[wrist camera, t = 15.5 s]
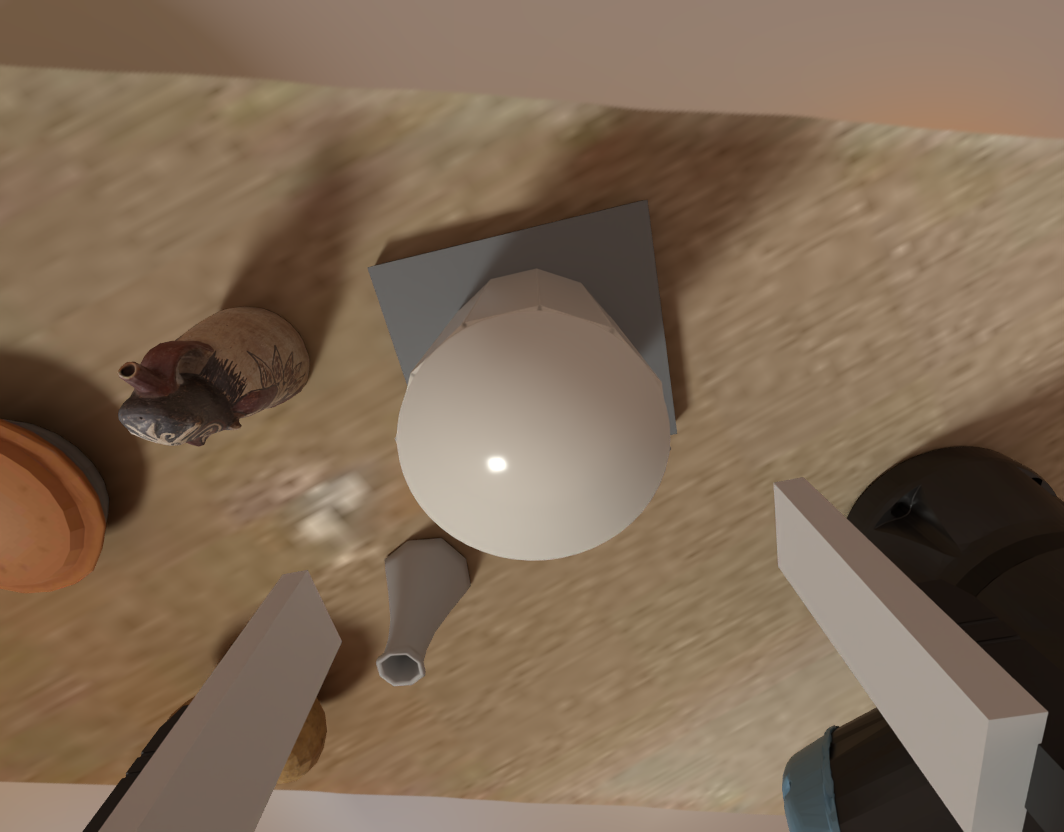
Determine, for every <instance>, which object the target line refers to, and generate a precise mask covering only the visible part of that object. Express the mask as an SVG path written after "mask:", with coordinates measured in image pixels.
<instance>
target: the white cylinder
mask: <svg viewBox="0 0 1064 832" xmlns="http://www.w3.org/2000/svg"><path fill="white" fill-rule="evenodd" d="M395 441H396V442H397V447H398V454H399V461H400V464H401V468H402V471H403V475H404V477H405V480H406V482H407V484H408V486H409V488H410V491H411V492H412V494H413V495H414V497H415V499H416V500H417V502H418V504H419V505H420V506H421V507H422V509H423V510H424V511H425V512H426V513H427V515H428V516H429V517H430V518H431V519H432V520H433V521H434V522H435V523H436V524H437V525H438V526H439V527H441V528H442V529H443V530H445V531H446V532H447V533H449V534H450V535H451V536H453V537H454V538H456V539H458V540H459V541H461V542H463V543H465V544H466V545H468V546H471V547H473V548H475V549H478V550H480V551H482V552H486V553H489V554H492V555H495V556H500V557H505V558H510V559H518V560H549V559H557V558H563V557H567V556H571V555H575V554H578V553H581V552H584V551H587V550H589V549H592V548H594V547H596V546H598V545H600V544H602V543H604V542H606V541H608V540H609V539H611V538H612V537H614V536H616V535H617V534H619V533H620V532H621V531H622V530H624V529H625V528H626V527H627V526H628V525H630V524H631V523H632V522H633V521H634V520H635V519H636V518H637V517H638V516H639V515H640V514H641V513H642V511H643V510H644V509H645V507H646V506H647V505H648V503H649V502H650V501H651V499H652V498H653V496H654V494H655V492H656V490H657V489H658V487H659V485H660V482H661V480H662V477H663V475H664V472H665V469H666V465H667V461H668V456H669V451H670V450H671V447H670V422H669V417H668V412H667V407H666V404H665V401H664V396H663V388H662V382H661V381H660V379H659V378H658V377H657V375H656V374H655V373H654V372H653V370H652V369H651V368H650V366H649V365H648V364H647V363H646V361H645V360H644V359H643V358H642V356H641V355H640V354H639V352H638V351H637V350H636V349H635V347H634V346H633V345H632V343H631V342H630V341H629V340H628V338H627V337H626V336H625V335H624V333H623V332H622V331H621V329H620V328H619V327H618V326H617V324H616V323H615V322H614V320H613V319H612V318H611V317H610V316H609V315H608V314H607V313H606V311H605V310H604V309H603V308H602V307H601V306H600V304H599V303H598V302H597V301H596V300H595V299H594V298H593V296H592V295H591V294H590V293H589V292H588V291H587V289H586V288H585V287H584V286H583V284H582V283H581V282H577V281H574V280H571V279H568V278H565V277H562V276H558V275H555V274H552V273H549V272H546V271H543V270H540V269H537V268H536V269H532V270H527V271H523V272H519V273H515V274H511V275H506V276H502V277H498V278H494V279H490V280H489V282H488V283H487V284H485V285H484V286H483V287H482V288H481V289H480V290H479V291H478V292H477V293H476V294H475V295H474V296H473V297H472V298H471V299H470V300H469V301H468V302H467V303H466V304H465V305H464V306H463V307H462V308H461V309H460V310H459V311H458V312H457V313H456V314H455V316H454V317H453V318H452V320H451V321H450V322H449V324H448V325H447V326H446V327H445V329H444V330H443V331H442V333H441V334H440V335H439V337H438V338H437V339H436V340H435V342H434V343H433V344H432V346H431V347H430V348H429V349H428V351H427V352H426V353H425V355H424V356H423V357H422V359H421V360H420V361H419V362H418V364H417V365H416V366H415V368H414V369H413V370H412V372H411V373H410V377H409V382H408V386H407V391H406V394H405V396H404V399H403V403H402V406H401V409H400V413H399V420H398V426H397V435H396V438H395Z"/></svg>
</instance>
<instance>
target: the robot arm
mask: <svg viewBox="0 0 1064 832" xmlns="http://www.w3.org/2000/svg"><path fill="white" fill-rule="evenodd" d="M774 498H775V516H776V535H777V553H778V567H779V568H780V570H781V571H782V573H783V574H784V575H785V577H786V578H787V580H788V581H789V583H790V584H791V585H792V587H793V588H794V590H795V591H796V593H797V594H798V595H799V597H800V598H801V600H802V601H803V603H804V604H805V605H806V607H807V608H808V610H809V611H810V613H811V614H812V615H813V617H814V618H815V620H816V621H817V623H818V624H819V625H820V627H821V628H822V630H823V631H824V633H825V634H826V635H827V637H828V638H829V640H830V641H831V643H832V644H833V645H834V647H835V648H836V650H837V651H838V653H839V654H840V655H841V657H842V658H843V660H844V661H845V663H846V664H847V665H848V667H849V668H850V670H851V671H852V673H853V674H854V675H855V677H856V678H857V680H858V681H859V683H860V684H861V685H862V687H863V688H864V690H865V691H866V693H867V694H868V695H869V697H870V698H871V700H872V701H873V703H874V704H875V705H876V708H875V709H873V710H871V711H869V712H867V713H865V714H863V715H861V716H859V717H858V718H856V719H854V720H852V721H850V722H848V723H846V724H844V725H843V726H841V727H839V726H835V725H834V726H832V727H830V728H828V729H827V730H826V732H825V734H824V736H822V737H820V738H819V739H817V740H816V741H814V742H813V743H811V744H810V745H808V746H806V747H805V748H803V749H802V750H800V751H799V752H797V753H796V754H794V755H793V756H792V757H791V758H790V760H789V761H788V762H787V764H786V767H785V770H784V774H783V782H782V791H783V799H784V809H785V814H786V819H787V823H788V827H789V831H790V832H1064V502H1063V501H1062V500H1061V499H1059V498H1058V497H1057V496H1056V494H1055V492H1054V491H1053V489H1052V488H1051V487H1050V486H1049V484H1048V483H1047V482H1046V481H1045V480H1044V479H1043V478H1042V477H1041V476H1039V475H1038V474H1037V473H1035V472H1034V471H1032V470H1031V469H1029V468H1028V467H1026V466H1024V465H1022V464H1020V463H1018V462H1016V461H1014V460H1012V459H1010V458H1008V457H1006V456H1005V455H1002V454H1000V453H998V452H995V451H992V450H989V449H984V448H979V447H950V448H944V449H939V450H935V451H931V452H928V453H925V454H922V455H919V456H916V457H914V458H912V459H910V460H907V461H905V462H903V463H902V464H900V465H898V466H896V467H895V468H893V469H891V470H890V471H888V472H887V473H886V474H884V475H883V476H882V477H880V478H879V479H878V480H877V481H875V482H874V483H873V484H872V485H871V486H870V487H869V488H868V489H867V490H866V491H865V492H864V493H863V495H862V496H861V497H860V498H859V499H858V501H857V502H856V504H855V505H854V507H853V508H852V510H851V512H850V514H849V516H848V517H847V518H846V517H844V516H843V515H842V514H841V513H840V512H839V511H838V510H837V509H836V508H835V507H834V506H833V505H832V504H831V503H830V502H829V501H828V500H827V499H826V498H825V497H824V496H823V495H822V494H820V493H819V492H818V491H817V490H816V489H815V488H814V487H813V486H812V485H811V484H810V483H809V482H808V481H807V480H806V479H805V478H804V477H802V478H797V479H791V480H786V481H781V482H775V483H774ZM341 643H342V640H341V638H340V636H339V634H338V632H337V630H336V628H335V626H334V624H333V622H332V620H331V618H330V616H329V613H328V611H327V609H326V607H325V605H324V603H323V601H322V599H321V597H320V595H319V593H318V591H317V589H316V586H315V584H314V582H313V580H312V578H311V576H310V574H309V572H308V570H305V571H300V572H294V573H289V574H284V575H282V576H281V578H280V579H279V581H278V582H277V583H276V585H275V586H274V588H273V589H272V590H271V592H270V593H269V594H268V596H267V597H266V599H265V600H264V601H263V603H262V604H261V606H260V607H259V608H258V610H257V611H256V613H255V614H254V615H253V617H252V618H251V620H250V621H249V622H248V624H247V625H246V627H245V628H244V629H243V631H242V632H241V633H240V635H239V636H238V638H237V639H236V640H235V642H234V643H233V645H232V646H231V647H230V649H229V650H228V652H227V653H226V654H225V656H224V657H223V659H222V660H221V661H220V663H219V664H218V665H217V667H216V668H215V670H214V671H213V672H212V674H211V675H210V677H209V678H208V679H207V681H206V682H205V684H204V685H203V686H202V688H201V689H200V691H199V692H198V693H197V695H196V696H195V698H194V699H193V700H192V702H191V703H190V704H189V705H184V706H182V707H181V708H180V709H179V710H178V711H177V712H176V713H175V714H174V715H173V716H172V717H171V718H170V719H169V720H168V721H166V722H165V723H164V724H163V725H162V726H161V727H160V728H159V729H158V731H157V732H156V734H155V735H154V736H153V738H152V739H151V740H150V742H149V743H148V744H147V746H146V747H145V748H144V750H143V751H142V752H141V757H138V758H137V759H136V760H135V762H134V763H133V764H132V766H131V767H130V768H129V770H128V771H127V772H126V777H125V778H122V779H121V781H120V782H119V783H118V785H117V786H116V787H115V789H114V790H113V791H112V793H111V794H110V795H109V797H108V798H107V800H106V801H105V802H104V803H103V805H102V806H101V808H100V809H99V810H98V812H97V813H96V814H95V816H94V817H93V818H92V820H91V821H90V822H89V824H88V825H87V826H86V828H85V829H84V830H83V832H254V831H255V829H256V826H257V824H258V822H259V820H260V818H261V816H262V813H263V811H264V808H265V807H266V805H267V803H268V800H269V798H270V796H271V794H272V792H273V790H274V787H275V785H276V783H277V781H278V779H279V777H280V775H281V772H282V770H283V768H284V766H285V764H286V762H287V759H288V757H289V755H290V753H291V751H292V749H293V746H294V744H295V742H296V740H297V738H298V736H299V733H300V731H301V729H302V727H303V725H304V723H305V721H306V718H307V716H308V714H309V712H310V710H311V708H312V705H313V703H314V701H315V699H316V697H317V695H318V692H319V690H320V688H321V686H322V684H323V682H324V679H325V677H326V675H327V673H328V671H329V669H330V666H331V664H332V662H333V660H334V658H335V656H336V654H337V651H338V649H339V647H340V645H341Z"/></svg>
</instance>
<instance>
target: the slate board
mask: <svg viewBox="0 0 1064 832" xmlns="http://www.w3.org/2000/svg"><path fill="white" fill-rule="evenodd" d="M536 268H537V269H540V270H543V271H546V272H549V273H552V274H555V275H558V276H562V277H565V278H568V279H571V280H574V281H577V282H581V283H582V284H583V286H584V287H585V288H586V289H587V291H588V292H589V293H590V294H591V295H592V296H593V298H594V299H595V300H596V301H597V302H598V303H599V304H600V306H601V307H602V308H603V309H604V310H605V311H606V313H607V314H608V315H609V316H610V317H611V318H612V319H613V320H614V322H615V323H616V324H617V326H618V327H619V328H620V329H621V331H622V332H623V333H624V335H625V336H626V337H627V338H628V340H629V341H630V342H631V343H632V345H633V346H634V347H635V349H636V350H637V351H638V352H639V354H640V355H641V356H642V358H643V359H644V360H645V361H646V363H647V364H648V365H649V366H650V368H651V369H652V370H653V372H654V373H655V374H656V375H657V377H658V378H659V379H660V381H661V382H662V388H663V396H664V401H665V404H666V407H667V412H668V417H669V422H670V435H673V434H677V429H676V421H675V413H674V405H673V398H672V390H671V382H670V374H669V366H668V358H667V350H666V342H665V335H664V327H663V319H662V311H661V303H660V295H659V287H658V279H657V272H656V264H655V256H654V248H653V240H652V232H651V224H650V216H649V209H648V201H647V200H642V201H638V202H634V203H630V204H626V205H622V206H618V207H613V208H609V209H605V210H601V211H597V212H593V213H589V214H585V215H580V216H576V217H572V218H568V219H564V220H560V221H556V222H552V223H548V224H543V225H539V226H535V227H531V228H527V229H523V230H519V231H515V232H510V233H506V234H502V235H498V236H494V237H490V238H486V239H482V240H477V241H473V242H469V243H465V244H461V245H457V246H453V247H449V248H445V249H440V250H436V251H432V252H428V253H424V254H420V255H416V256H412V257H407V258H403V259H399V260H395V261H391V262H387V263H383V264H379V265H375V266H371V267H368V271H369V274H370V277H371V280H372V283H373V286H374V289H375V291H376V294H377V297H378V300H379V303H380V306H381V309H382V312H383V315H384V318H385V321H386V324H387V327H388V330H389V333H390V336H391V339H392V342H393V345H394V348H395V350H396V353H397V356H398V359H399V362H400V365H401V368H402V371H403V374H404V377H405V380H406V383H407V386H408V382H409V377H410V373H411V372H412V370H413V369H414V368H415V366H416V365H417V364H418V362H419V361H420V360H421V359H422V357H423V356H424V355H425V353H426V352H427V351H428V349H429V348H430V347H431V346H432V344H433V343H434V342H435V340H436V339H437V338H438V337H439V335H440V334H441V333H442V331H443V330H444V329H445V327H446V326H447V325H448V324H449V322H450V321H451V320H452V318H453V317H454V316H455V314H456V313H457V312H458V311H459V310H460V309H461V308H462V307H463V306H464V305H465V304H466V303H467V302H468V301H469V300H470V299H471V298H472V297H473V296H474V295H475V294H476V293H477V292H478V291H479V290H480V289H481V288H482V287H483V286H484V285H485V284H487V283H488V282H489V280H490V279H494V278H498V277H502V276H506V275H511V274H515V273H519V272H523V271H527V270H532V269H536Z"/></svg>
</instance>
